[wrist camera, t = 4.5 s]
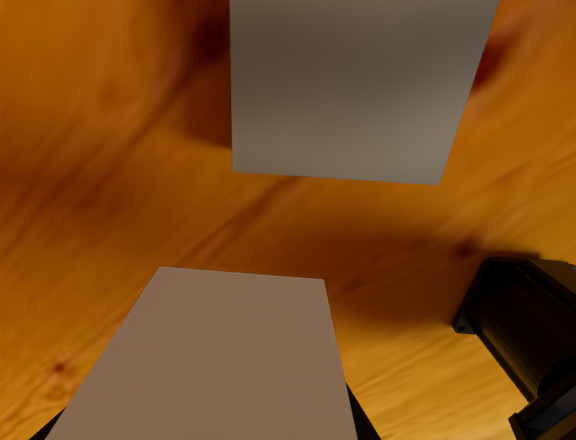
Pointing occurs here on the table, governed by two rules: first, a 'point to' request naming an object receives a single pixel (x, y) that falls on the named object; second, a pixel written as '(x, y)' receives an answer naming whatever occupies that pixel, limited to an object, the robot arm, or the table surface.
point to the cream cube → (217, 364)
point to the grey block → (352, 85)
